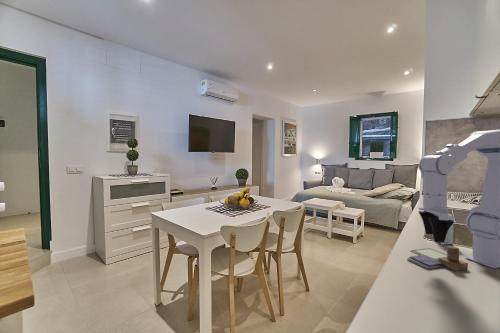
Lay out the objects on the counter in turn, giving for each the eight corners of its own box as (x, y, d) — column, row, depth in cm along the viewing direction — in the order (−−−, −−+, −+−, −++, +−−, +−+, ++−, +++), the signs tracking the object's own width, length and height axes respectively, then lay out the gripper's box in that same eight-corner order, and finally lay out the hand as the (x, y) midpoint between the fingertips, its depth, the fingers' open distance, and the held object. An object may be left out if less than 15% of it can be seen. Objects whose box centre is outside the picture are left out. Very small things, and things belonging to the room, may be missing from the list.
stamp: (450, 263, 76) (450, 244, 76) (467, 270, 71) (468, 250, 71) (438, 264, 75) (438, 245, 75) (455, 271, 70) (455, 251, 70)
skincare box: (453, 245, 92) (454, 215, 91) (441, 244, 92) (442, 215, 92) (444, 240, 98) (444, 212, 97) (432, 239, 98) (433, 211, 98)
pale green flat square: (429, 248, 88) (429, 247, 88) (455, 258, 79) (455, 257, 79) (410, 251, 86) (410, 249, 86) (434, 261, 77) (434, 259, 77)
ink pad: (423, 258, 80) (423, 254, 80) (445, 267, 73) (445, 263, 73) (407, 260, 78) (407, 256, 78) (427, 269, 71) (427, 265, 71)
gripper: (412, 190, 79) (412, 229, 79) (427, 197, 65) (426, 244, 66) (438, 191, 76) (437, 231, 76) (458, 198, 63) (457, 247, 63)
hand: (434, 237), depth 71 cm, fingers open, 7 cm apart
